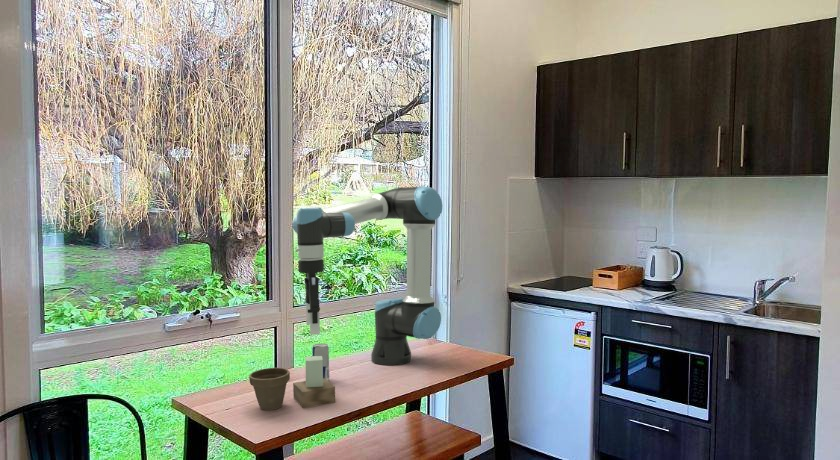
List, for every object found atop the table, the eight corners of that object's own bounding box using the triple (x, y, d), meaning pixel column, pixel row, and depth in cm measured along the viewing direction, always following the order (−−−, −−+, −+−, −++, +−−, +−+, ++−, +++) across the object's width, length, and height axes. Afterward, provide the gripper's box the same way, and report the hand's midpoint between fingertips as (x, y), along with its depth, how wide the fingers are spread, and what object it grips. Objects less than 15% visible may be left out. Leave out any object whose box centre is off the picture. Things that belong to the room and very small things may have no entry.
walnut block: (325, 393, 187) (324, 378, 186) (335, 403, 178) (335, 386, 177) (293, 399, 182) (293, 382, 182) (302, 409, 173) (302, 392, 173)
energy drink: (309, 380, 199) (309, 345, 198) (322, 377, 203) (321, 342, 202) (319, 384, 195) (318, 348, 195) (332, 380, 199) (331, 345, 199)
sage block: (322, 381, 183) (321, 355, 183) (323, 386, 178) (322, 359, 178) (305, 382, 182) (305, 356, 182) (306, 387, 177) (305, 361, 177)
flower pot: (253, 416, 167) (252, 380, 167) (247, 403, 178) (246, 370, 177) (294, 409, 172) (293, 375, 171) (286, 397, 182) (285, 365, 182)
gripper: (295, 255, 189) (297, 321, 190) (300, 264, 165) (303, 339, 166) (319, 254, 191) (321, 320, 192) (328, 262, 167) (330, 337, 168)
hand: (313, 329), depth 179 cm, fingers open, 13 cm apart
